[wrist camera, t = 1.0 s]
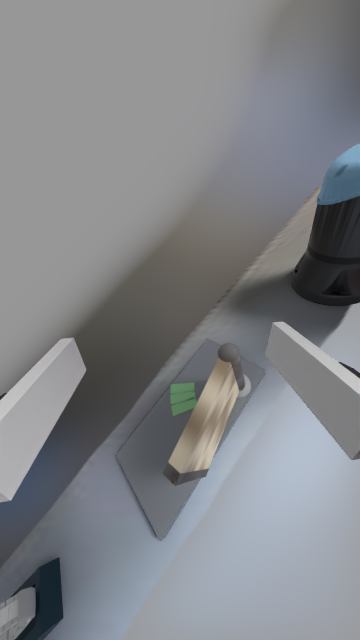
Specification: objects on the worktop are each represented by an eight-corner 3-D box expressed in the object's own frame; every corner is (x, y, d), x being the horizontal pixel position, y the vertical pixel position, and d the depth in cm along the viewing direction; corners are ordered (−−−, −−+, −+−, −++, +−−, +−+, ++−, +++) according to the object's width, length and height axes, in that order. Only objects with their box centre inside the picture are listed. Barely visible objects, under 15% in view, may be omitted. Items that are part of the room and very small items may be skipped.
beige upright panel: (233, 374, 31) (222, 340, 22) (247, 380, 30) (242, 347, 21) (193, 465, 25) (158, 469, 16) (209, 479, 24) (179, 490, 15)
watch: (21, 596, 24) (-94, 662, 16) (69, 547, 26) (-16, 586, 18) (18, 668, 21) (-132, 798, 13) (74, 605, 22) (-29, 687, 14)
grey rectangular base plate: (208, 341, 39) (207, 338, 38) (265, 372, 31) (265, 369, 30) (120, 455, 31) (114, 455, 30) (164, 537, 23) (159, 541, 22)
